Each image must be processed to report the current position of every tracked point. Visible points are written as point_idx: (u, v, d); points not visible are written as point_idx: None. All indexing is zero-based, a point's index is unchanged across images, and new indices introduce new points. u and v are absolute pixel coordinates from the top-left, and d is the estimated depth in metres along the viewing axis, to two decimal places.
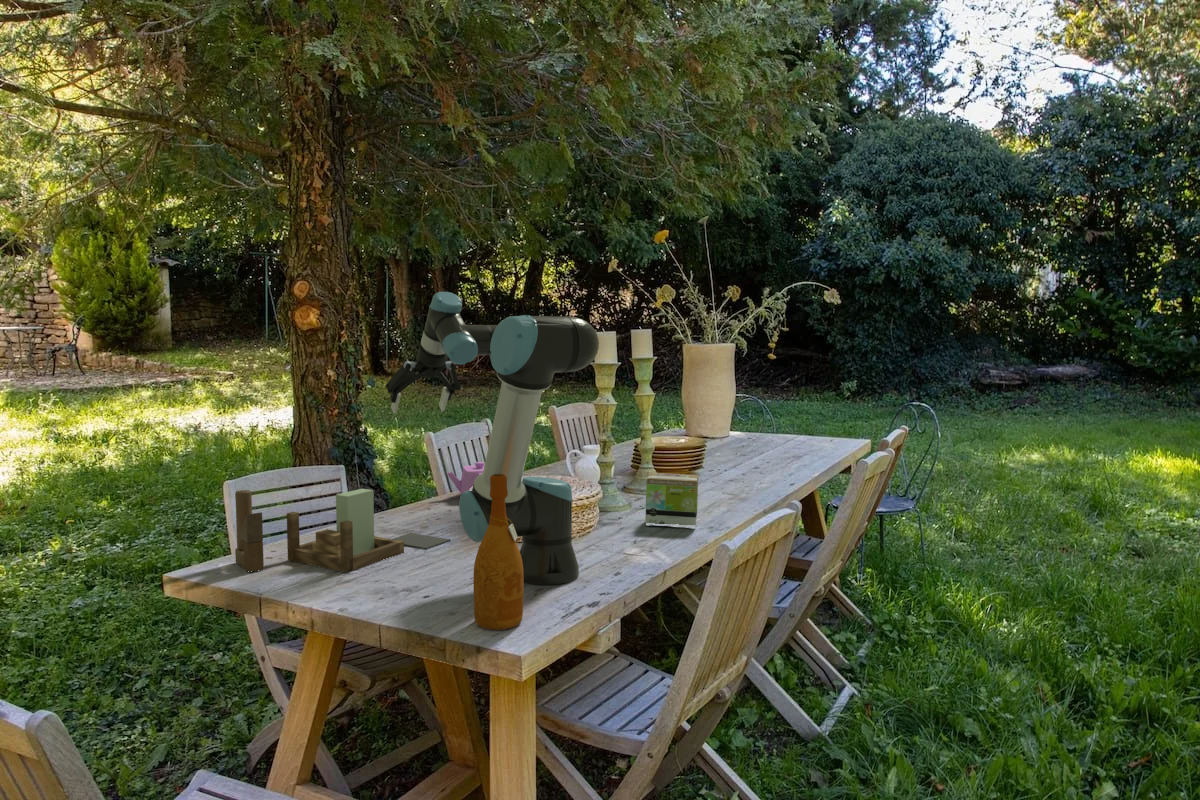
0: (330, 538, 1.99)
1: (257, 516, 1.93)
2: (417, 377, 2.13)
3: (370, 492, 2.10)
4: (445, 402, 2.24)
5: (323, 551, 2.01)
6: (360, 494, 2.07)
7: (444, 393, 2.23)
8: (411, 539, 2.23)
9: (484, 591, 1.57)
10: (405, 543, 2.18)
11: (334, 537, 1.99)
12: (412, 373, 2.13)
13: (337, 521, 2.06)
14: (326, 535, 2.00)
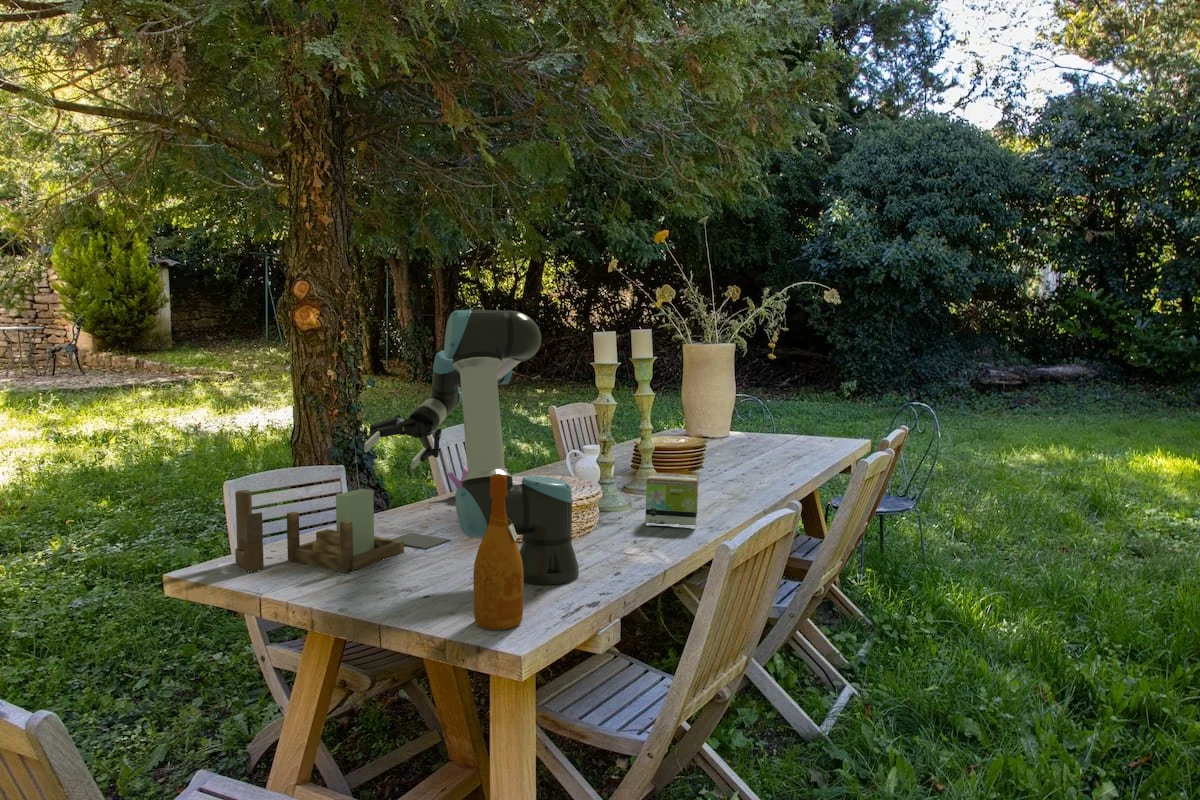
0: (332, 538, 1.99)
1: (257, 516, 1.93)
2: (402, 423, 2.21)
3: (370, 492, 2.10)
4: (418, 454, 2.12)
5: (324, 551, 2.01)
6: (360, 494, 2.07)
7: None
8: (411, 539, 2.23)
9: (484, 591, 1.57)
10: (405, 543, 2.18)
11: (335, 537, 1.99)
12: None
13: (337, 521, 2.06)
14: (327, 535, 2.00)
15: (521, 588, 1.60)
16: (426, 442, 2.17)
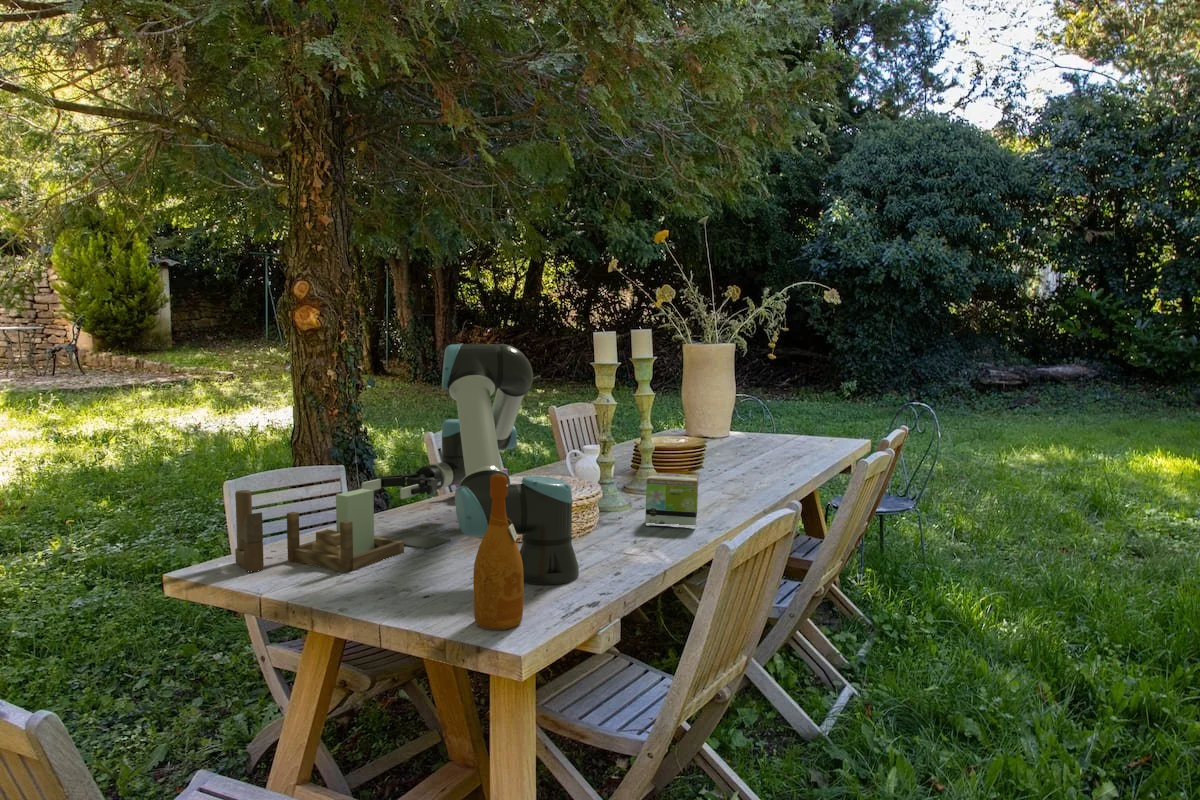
0: (330, 538, 2.00)
1: (257, 516, 1.93)
2: (404, 475, 2.30)
3: (370, 492, 2.10)
4: (409, 486, 2.17)
5: (323, 551, 2.01)
6: (360, 494, 2.07)
7: None
8: (411, 539, 2.23)
9: (484, 591, 1.57)
10: (405, 543, 2.18)
11: (334, 537, 1.99)
12: None
13: (337, 521, 2.06)
14: (326, 535, 2.00)
15: (521, 588, 1.60)
16: None
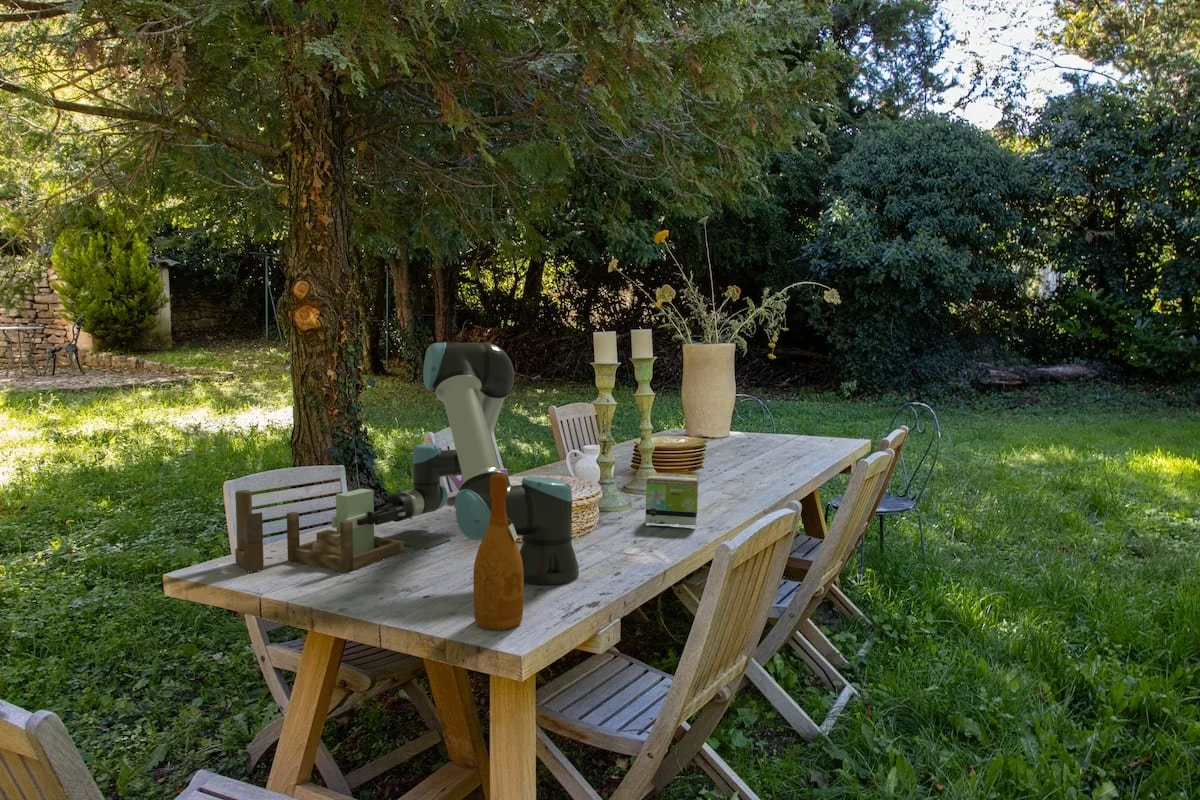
0: (332, 538, 1.99)
1: (257, 516, 1.93)
2: None
3: (370, 492, 2.10)
4: (355, 516, 2.06)
5: (324, 552, 2.00)
6: (360, 494, 2.07)
7: None
8: (411, 539, 2.23)
9: (484, 591, 1.57)
10: (405, 543, 2.18)
11: (336, 537, 1.99)
12: None
13: (337, 521, 2.06)
14: (327, 536, 2.00)
15: (521, 588, 1.60)
16: (374, 512, 2.11)
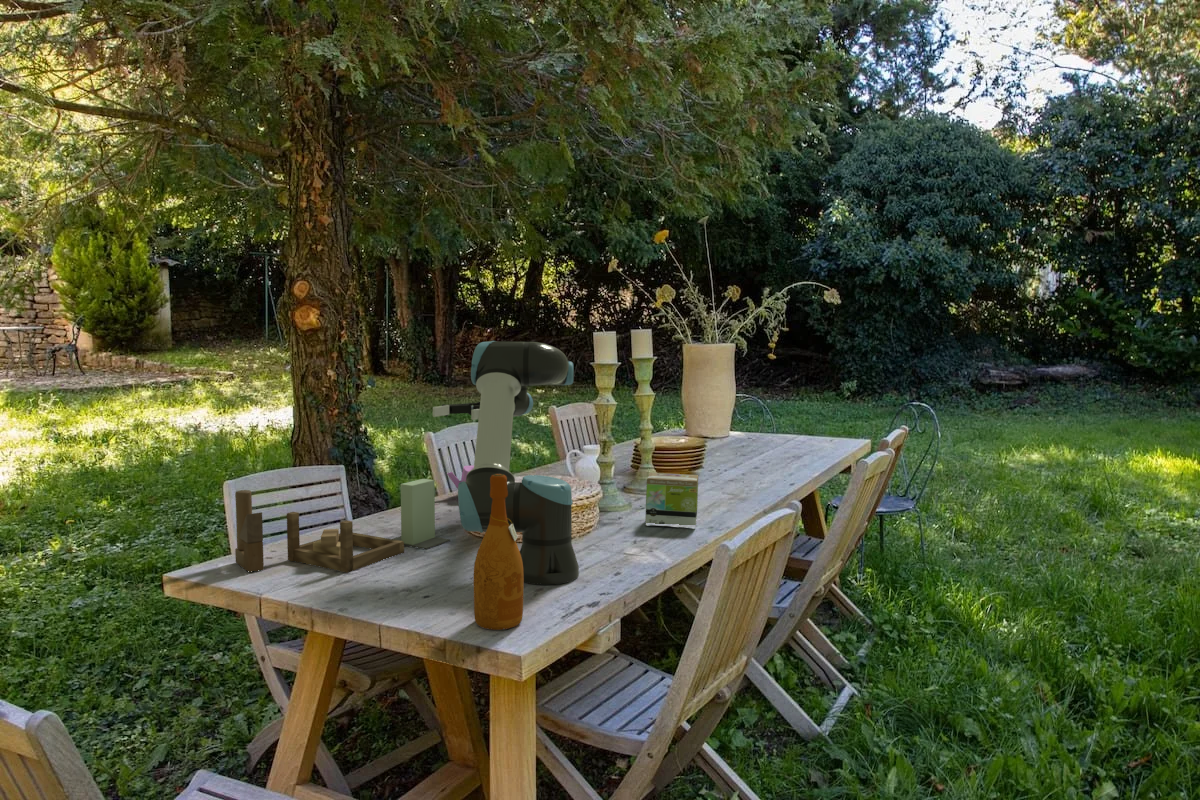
0: None
1: (257, 516, 1.93)
2: (470, 403, 2.42)
3: (431, 482, 2.23)
4: (479, 409, 2.29)
5: (324, 551, 2.01)
6: (423, 483, 2.19)
7: None
8: None
9: (484, 591, 1.57)
10: None
11: (321, 537, 1.98)
12: None
13: (402, 509, 2.18)
14: (322, 534, 2.01)
15: (521, 588, 1.60)
16: None
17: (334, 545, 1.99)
